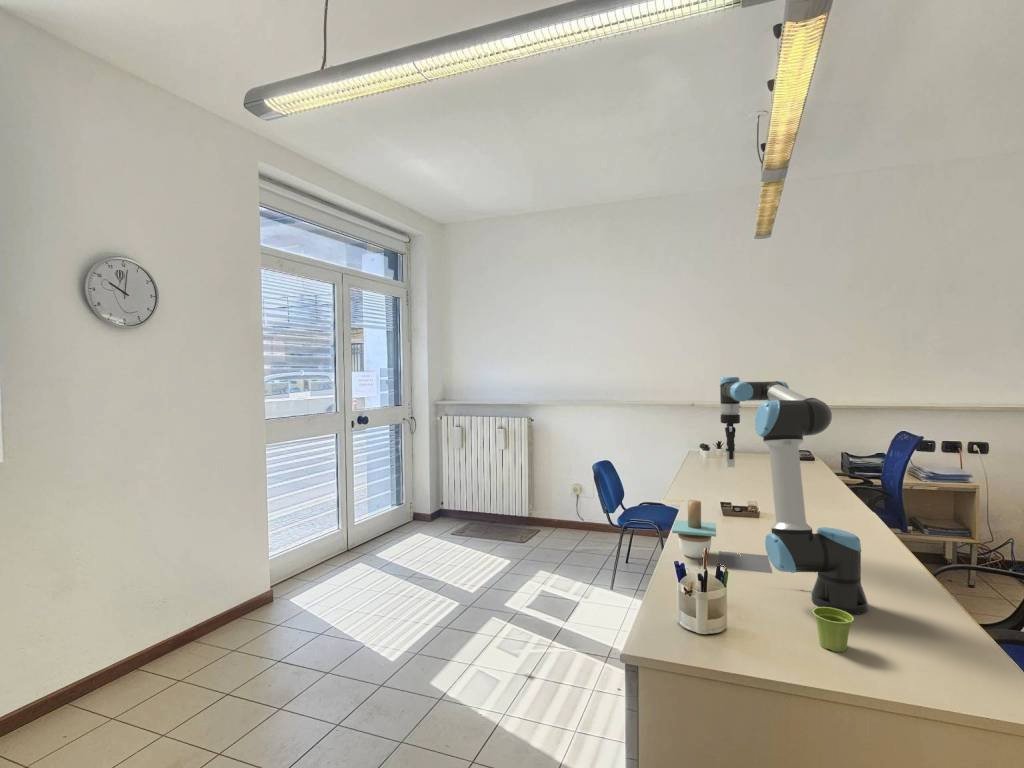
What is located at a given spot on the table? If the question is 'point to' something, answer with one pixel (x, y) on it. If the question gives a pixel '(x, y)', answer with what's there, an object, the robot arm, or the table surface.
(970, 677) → the table surface
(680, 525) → the cover board
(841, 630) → the plant pot
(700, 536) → the lidded bowl
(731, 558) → the mat
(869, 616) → the table surface
